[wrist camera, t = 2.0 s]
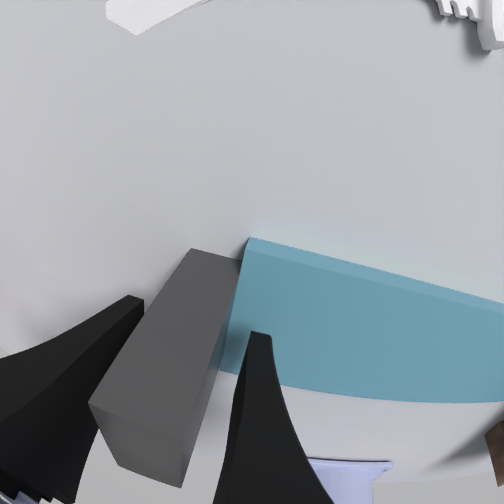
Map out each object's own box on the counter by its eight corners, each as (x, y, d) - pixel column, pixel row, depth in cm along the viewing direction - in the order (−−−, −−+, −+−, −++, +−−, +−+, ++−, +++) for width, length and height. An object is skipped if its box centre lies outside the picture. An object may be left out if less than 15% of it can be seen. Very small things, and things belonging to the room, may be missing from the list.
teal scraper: (521, 389, 12) (550, 463, 6) (182, 342, 13) (123, 474, 7) (570, 323, 10) (616, 396, 3) (194, 223, 10) (76, 373, 4)
